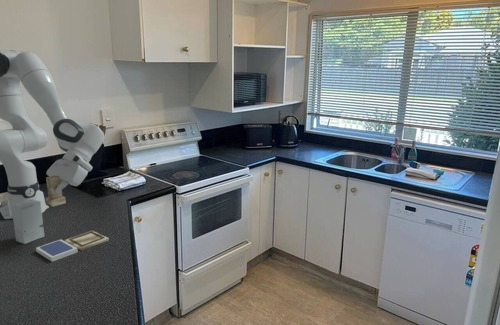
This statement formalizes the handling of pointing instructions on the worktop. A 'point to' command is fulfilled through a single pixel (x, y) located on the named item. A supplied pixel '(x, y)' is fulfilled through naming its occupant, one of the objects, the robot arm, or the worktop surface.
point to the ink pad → (56, 250)
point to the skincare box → (27, 221)
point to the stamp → (54, 192)
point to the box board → (86, 240)
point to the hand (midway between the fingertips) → (52, 190)
